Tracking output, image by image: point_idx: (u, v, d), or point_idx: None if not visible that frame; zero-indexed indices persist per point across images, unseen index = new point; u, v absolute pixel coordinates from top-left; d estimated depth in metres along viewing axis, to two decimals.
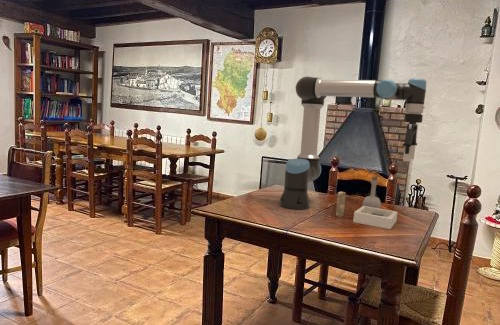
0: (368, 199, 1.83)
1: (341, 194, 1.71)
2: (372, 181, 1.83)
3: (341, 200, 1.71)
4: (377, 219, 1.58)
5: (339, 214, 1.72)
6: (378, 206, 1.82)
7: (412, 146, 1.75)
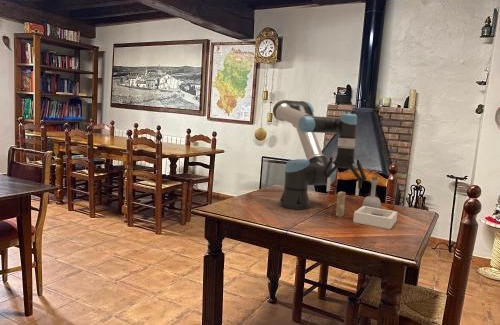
0: (368, 199, 1.83)
1: (341, 194, 1.71)
2: (372, 181, 1.83)
3: (341, 200, 1.71)
4: (377, 219, 1.58)
5: (339, 214, 1.72)
6: (378, 206, 1.82)
7: None
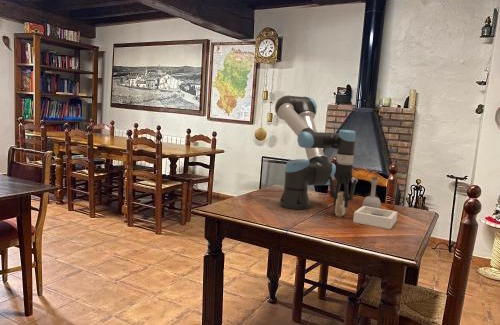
0: (368, 199, 1.83)
1: (341, 194, 1.71)
2: (372, 181, 1.83)
3: (341, 200, 1.71)
4: (377, 219, 1.58)
5: (339, 214, 1.72)
6: (378, 206, 1.82)
7: None
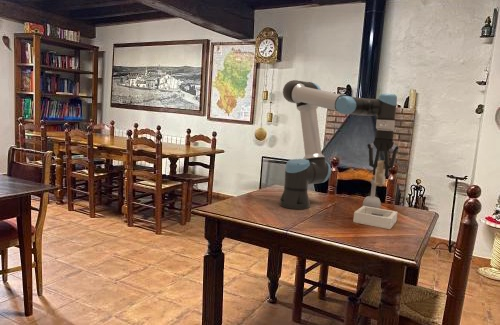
0: (368, 199, 1.83)
1: (381, 162, 1.61)
2: (372, 181, 1.83)
3: (382, 169, 1.61)
4: (377, 219, 1.58)
5: (379, 183, 1.62)
6: (378, 206, 1.82)
7: None
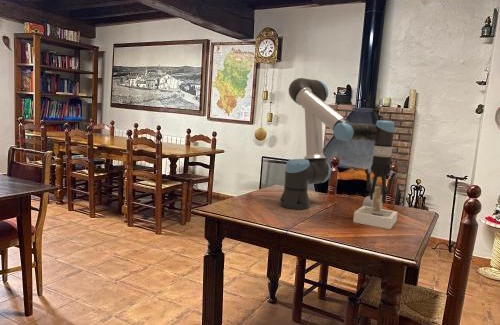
0: (368, 199, 1.83)
1: (379, 188, 1.63)
2: (372, 181, 1.83)
3: (379, 194, 1.63)
4: (377, 219, 1.58)
5: (376, 209, 1.64)
6: None
7: (380, 195, 1.64)
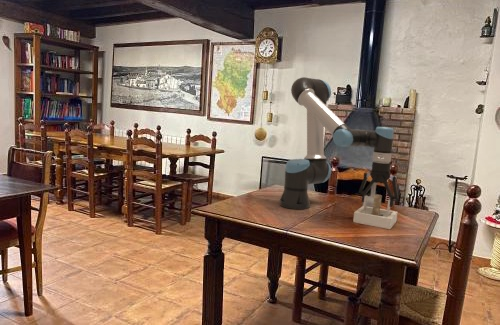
0: (368, 199, 1.83)
1: (378, 197, 1.63)
2: None
3: (378, 204, 1.63)
4: (377, 219, 1.58)
5: None
6: None
7: None
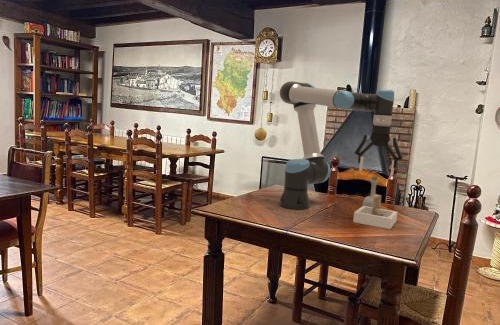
0: (368, 199, 1.83)
1: (377, 197, 1.63)
2: (372, 181, 1.83)
3: (377, 204, 1.63)
4: (377, 219, 1.58)
5: None
6: None
7: None
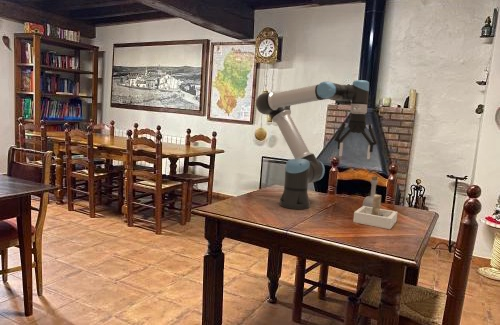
0: (368, 199, 1.83)
1: (377, 197, 1.63)
2: (372, 181, 1.83)
3: (377, 204, 1.63)
4: (377, 219, 1.58)
5: None
6: None
7: None
